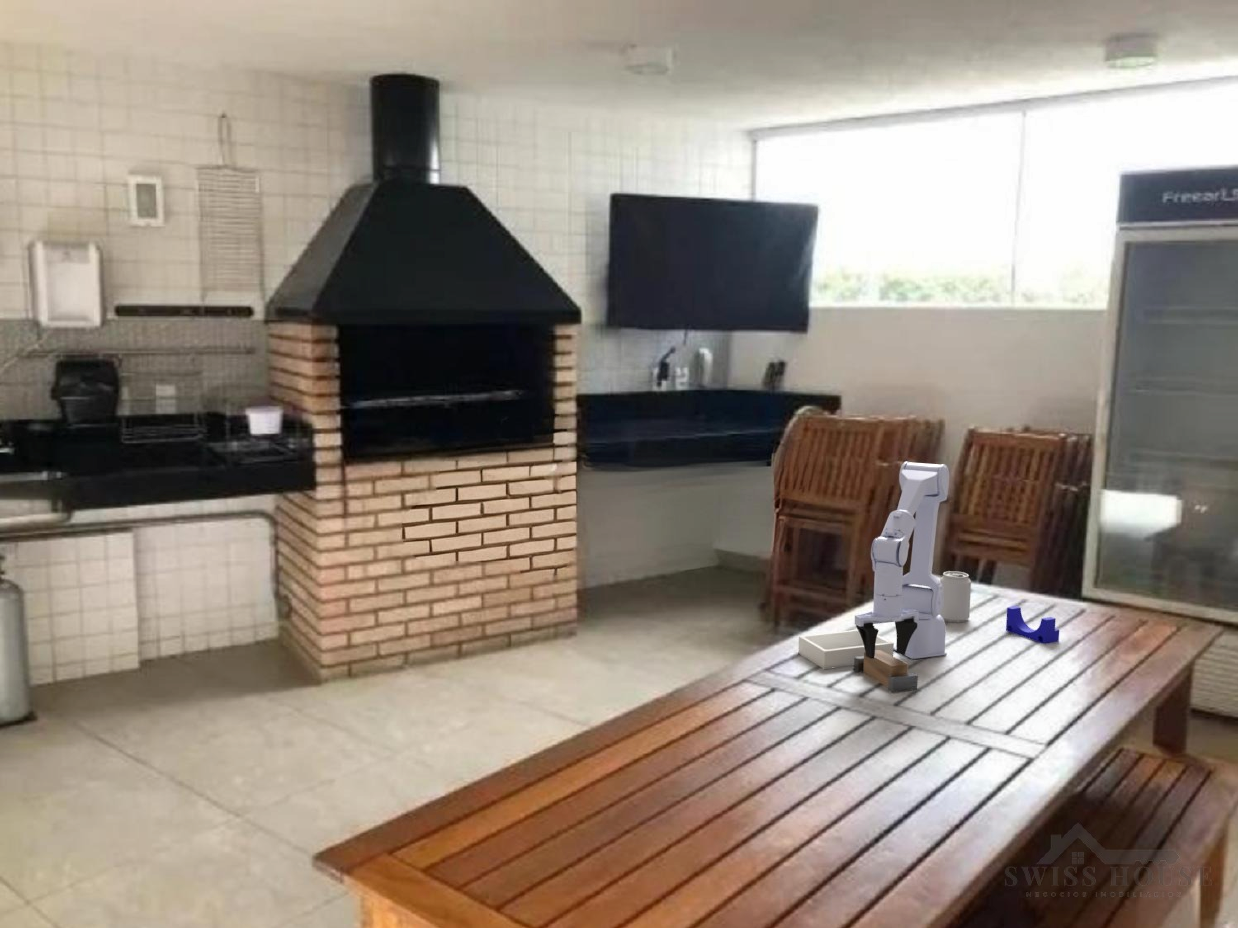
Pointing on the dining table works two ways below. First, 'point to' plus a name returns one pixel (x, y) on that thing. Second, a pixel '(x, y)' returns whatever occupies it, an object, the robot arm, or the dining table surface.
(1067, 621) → the dining table surface
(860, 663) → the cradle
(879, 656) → the wooden block
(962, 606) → the can
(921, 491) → the robot arm
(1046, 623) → the blue saddle bracket
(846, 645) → the bin
